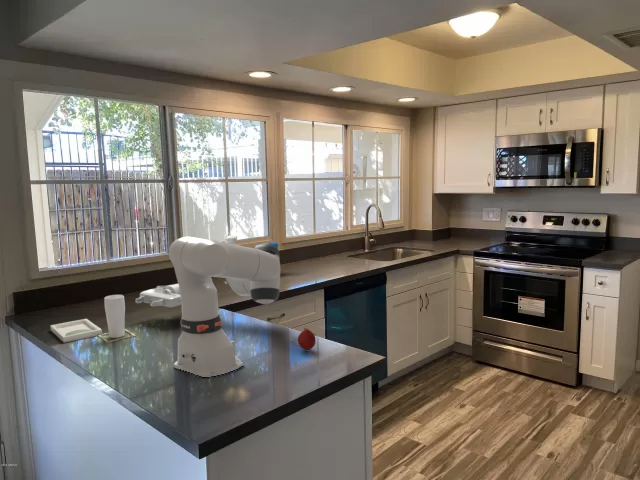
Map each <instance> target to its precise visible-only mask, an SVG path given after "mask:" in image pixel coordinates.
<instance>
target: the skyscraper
mask: <svg viewBox="0 0 640 480" xmlns="http://www.w3.org/2000/svg"><path fill="white" fill-rule="evenodd" d="M230 234H231V233H230V232H227V233H225V234H224V237H223V240H224V243H229V244H234V245H237V241H238V236H237V235H234V236H233V235H230ZM227 235H228V236H227ZM226 236H227V237H226ZM223 283H224V284H225V285H229V283H228V281H227V279H226V278H225V281H223ZM229 286H230V285H229Z"/></svg>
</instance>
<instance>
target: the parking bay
mask: <svg viewBox="0 0 640 480" xmlns="http://www.w3.org/2000/svg"><path fill="white" fill-rule="evenodd" d="M125 333H127V334H129V336H125V337H124V336H123V337H120V338H114V339H111V340H108V339H106V338H105V337H104V336H109V332H107V333H102V335H98V337H99V339H101V340H102V341H104V342H105V343H107V344H108V343H113V342H118V341H121V340H125V339H130V338H135V337H137V335H136V334H134V333H133V332H132V331H130V330H128V329H126V328H125Z"/></svg>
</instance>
